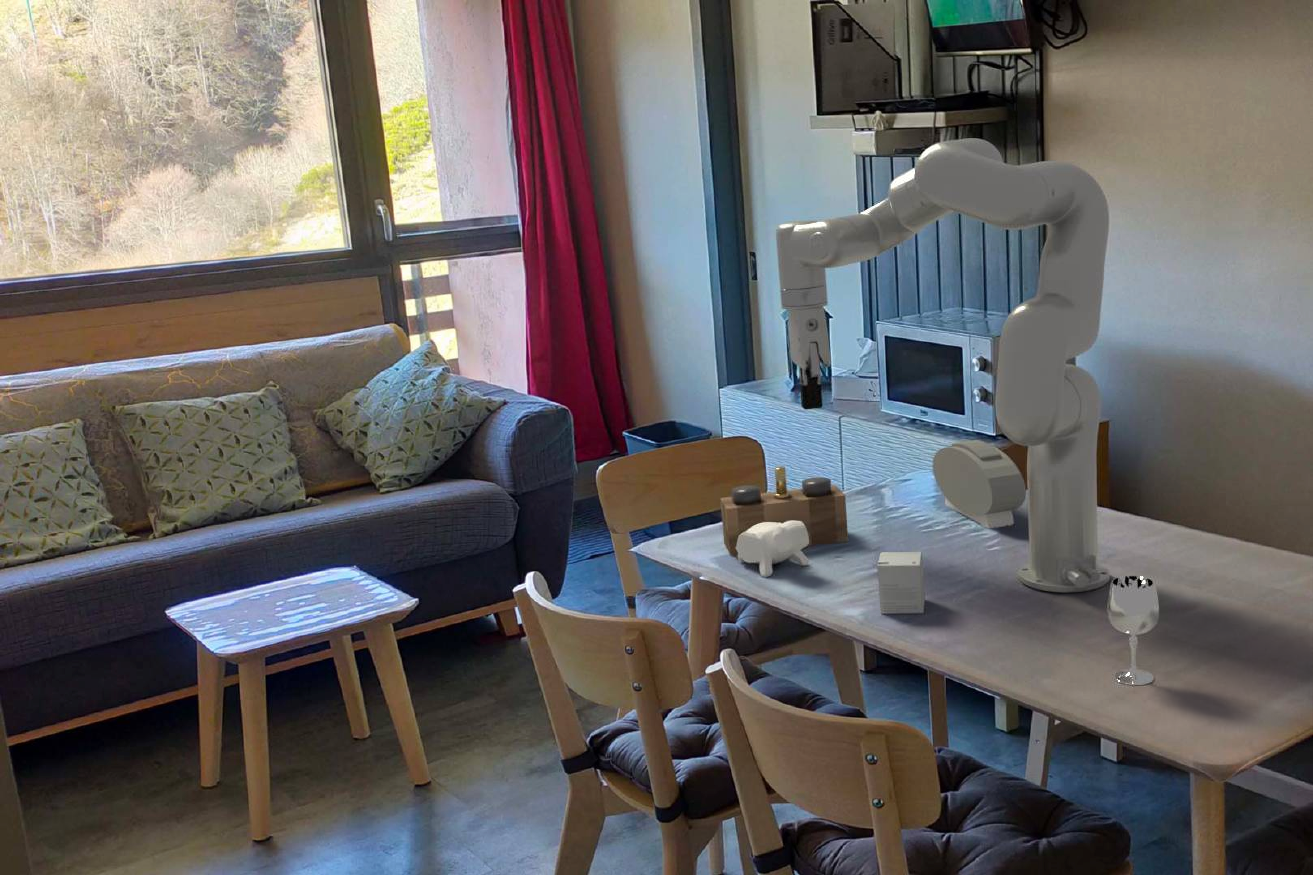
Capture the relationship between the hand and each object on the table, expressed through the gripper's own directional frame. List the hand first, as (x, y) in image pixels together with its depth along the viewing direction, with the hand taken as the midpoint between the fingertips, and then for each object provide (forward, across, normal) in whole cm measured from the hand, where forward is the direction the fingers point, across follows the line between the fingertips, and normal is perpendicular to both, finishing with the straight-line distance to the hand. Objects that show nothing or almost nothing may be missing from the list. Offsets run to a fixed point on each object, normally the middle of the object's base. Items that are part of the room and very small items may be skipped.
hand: (812, 407), depth 212 cm
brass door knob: (+15, 0, +6) cm, 16 cm away
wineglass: (+23, -68, -23) cm, 75 cm away
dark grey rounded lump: (+22, 0, +12) cm, 25 cm away
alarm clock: (+23, +3, -28) cm, 37 cm away
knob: (+22, 0, 0) cm, 22 cm away
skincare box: (+23, -36, -4) cm, 43 cm away
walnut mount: (+23, 0, +6) cm, 23 cm away
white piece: (+23, -12, +10) cm, 28 cm away
